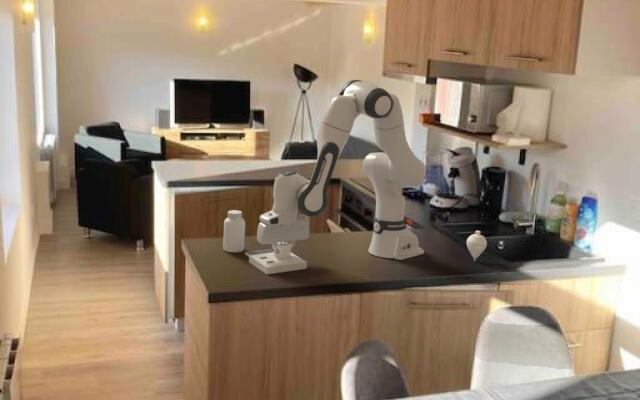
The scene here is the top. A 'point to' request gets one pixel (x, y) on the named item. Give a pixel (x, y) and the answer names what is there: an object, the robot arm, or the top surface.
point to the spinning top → (476, 244)
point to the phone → (259, 252)
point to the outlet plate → (277, 263)
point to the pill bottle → (234, 232)
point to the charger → (283, 250)
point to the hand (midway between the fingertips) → (282, 252)
